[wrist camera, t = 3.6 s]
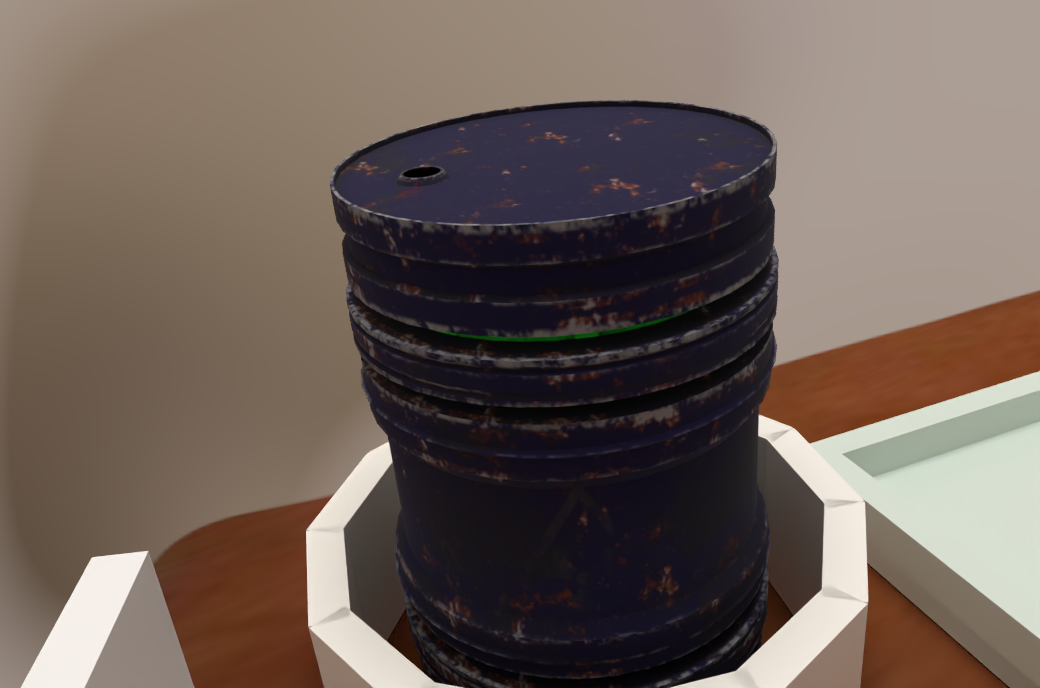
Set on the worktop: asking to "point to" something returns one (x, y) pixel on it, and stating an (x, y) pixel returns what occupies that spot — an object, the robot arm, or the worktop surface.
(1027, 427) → the tray
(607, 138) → the rusty blue drum
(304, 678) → the worktop surface
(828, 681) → the holder ring
